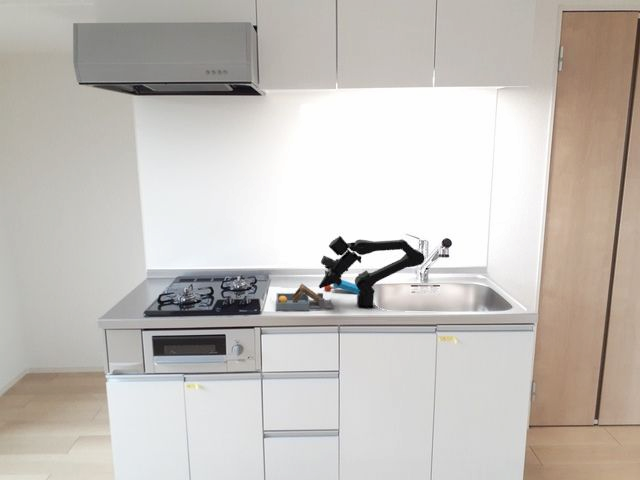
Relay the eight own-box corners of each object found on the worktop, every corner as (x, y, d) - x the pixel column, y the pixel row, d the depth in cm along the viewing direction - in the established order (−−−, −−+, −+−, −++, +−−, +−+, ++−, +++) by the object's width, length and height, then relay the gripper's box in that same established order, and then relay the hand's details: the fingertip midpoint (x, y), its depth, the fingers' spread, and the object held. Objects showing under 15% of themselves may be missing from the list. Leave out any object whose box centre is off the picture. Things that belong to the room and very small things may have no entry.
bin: (307, 300, 211) (307, 293, 210) (309, 311, 197) (309, 303, 196) (276, 300, 210) (276, 293, 209) (276, 311, 196) (276, 303, 195)
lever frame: (330, 302, 210) (331, 292, 209) (333, 309, 200) (333, 299, 199) (308, 302, 209) (309, 292, 208) (310, 309, 199) (310, 299, 198)
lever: (358, 299, 230) (323, 288, 231) (362, 286, 229) (328, 275, 229) (358, 304, 224) (322, 292, 224) (362, 290, 222) (327, 279, 223)
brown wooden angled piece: (321, 297, 207) (301, 283, 205) (322, 302, 201) (302, 287, 199) (311, 310, 208) (291, 296, 206) (312, 315, 201) (291, 301, 199)
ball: (277, 302, 205) (286, 303, 205) (277, 305, 201) (286, 306, 201) (279, 293, 204) (287, 295, 204) (279, 296, 200) (288, 298, 200)
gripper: (329, 245, 209) (305, 269, 210) (334, 254, 191) (307, 280, 192) (346, 262, 211) (322, 286, 212) (352, 272, 193) (326, 298, 194)
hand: (319, 287), depth 203 cm, fingers closed
